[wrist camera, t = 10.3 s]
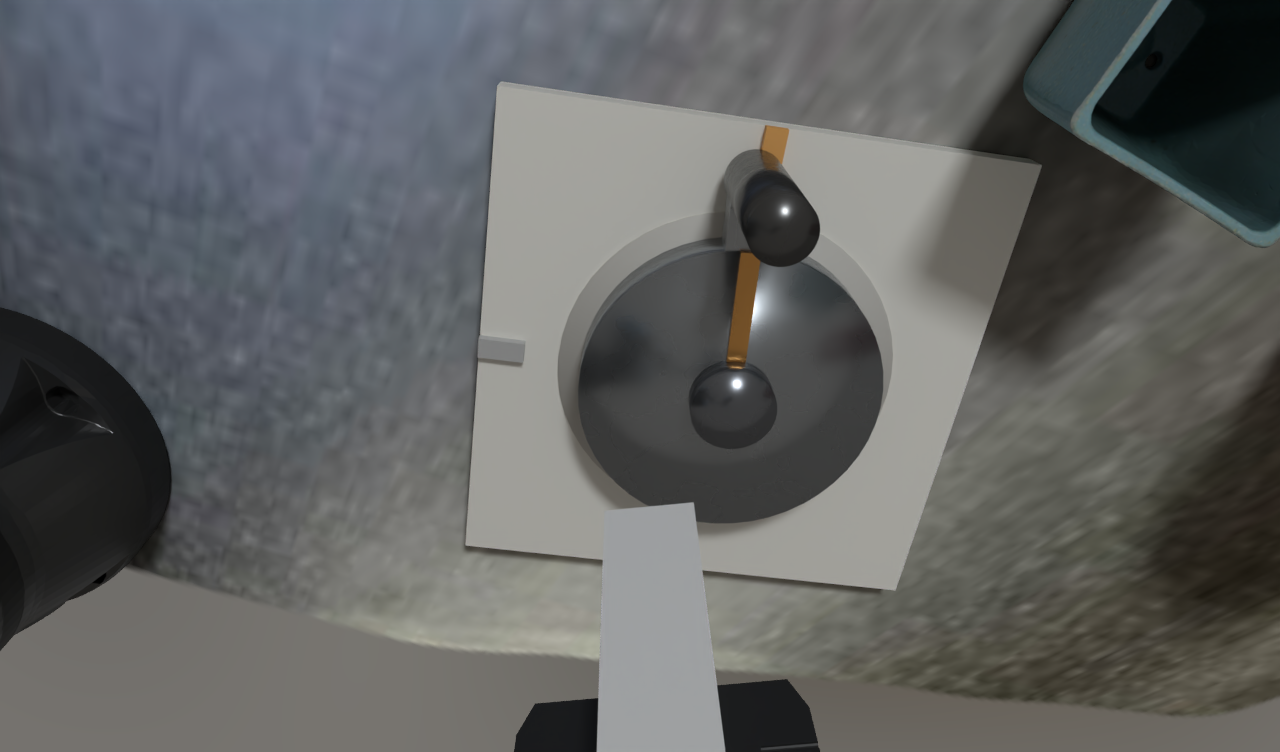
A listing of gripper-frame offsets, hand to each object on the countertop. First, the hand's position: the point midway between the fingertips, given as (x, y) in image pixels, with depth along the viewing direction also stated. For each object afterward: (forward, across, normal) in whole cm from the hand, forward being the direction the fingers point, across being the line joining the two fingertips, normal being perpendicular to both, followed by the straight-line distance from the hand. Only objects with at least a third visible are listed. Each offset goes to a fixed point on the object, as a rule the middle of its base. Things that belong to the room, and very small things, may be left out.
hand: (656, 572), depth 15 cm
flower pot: (+25, +20, +4) cm, 32 cm away
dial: (+23, +4, -6) cm, 24 cm away
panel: (+24, +3, -8) cm, 26 cm away
